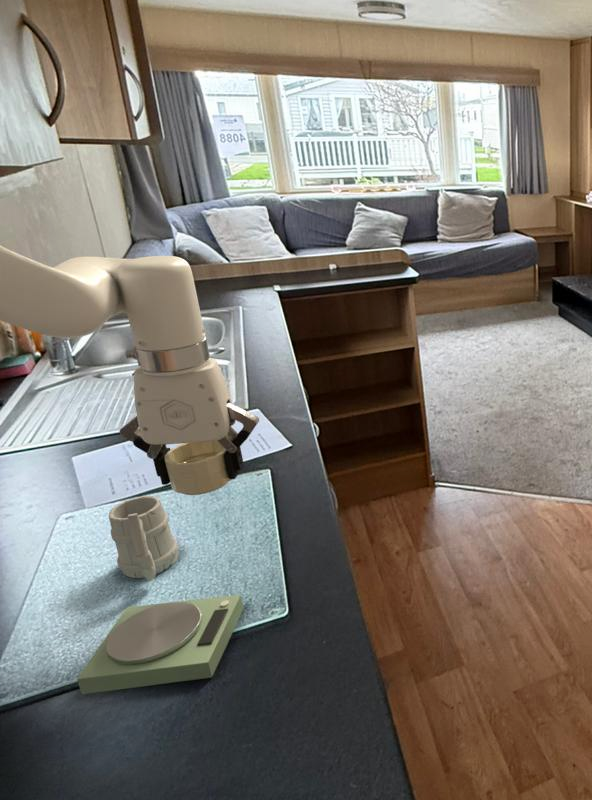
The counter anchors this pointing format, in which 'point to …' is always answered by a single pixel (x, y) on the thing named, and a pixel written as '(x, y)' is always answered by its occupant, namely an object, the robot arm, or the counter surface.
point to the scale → (176, 666)
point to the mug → (142, 537)
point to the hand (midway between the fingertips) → (202, 476)
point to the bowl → (197, 467)
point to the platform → (154, 632)
